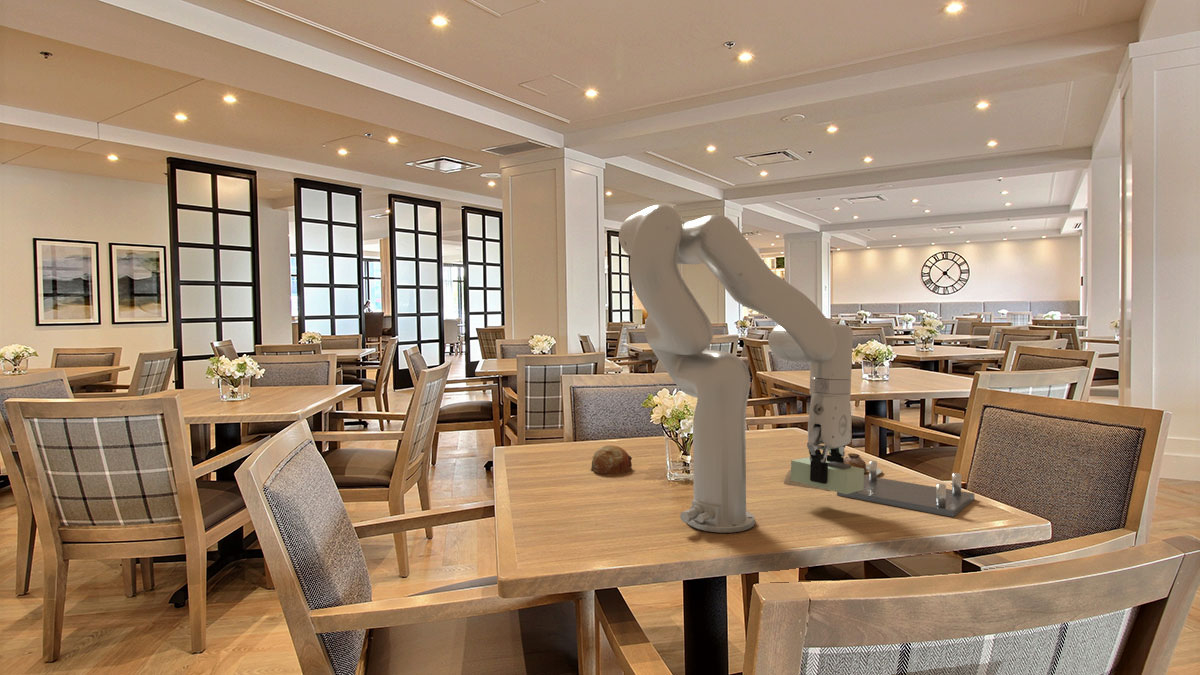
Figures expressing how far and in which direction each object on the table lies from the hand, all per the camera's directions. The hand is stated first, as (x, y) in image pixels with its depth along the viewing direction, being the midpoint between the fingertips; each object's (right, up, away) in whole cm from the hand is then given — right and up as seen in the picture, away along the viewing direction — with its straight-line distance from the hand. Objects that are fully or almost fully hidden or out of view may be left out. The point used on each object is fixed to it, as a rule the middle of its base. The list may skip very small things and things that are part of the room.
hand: (826, 478), depth 122 cm
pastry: (+17, -5, +28) cm, 33 cm away
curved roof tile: (+4, -6, +21) cm, 22 cm away
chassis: (+19, -5, +7) cm, 21 cm away
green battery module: (0, -1, 0) cm, 1 cm away
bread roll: (-41, -6, +34) cm, 54 cm away
